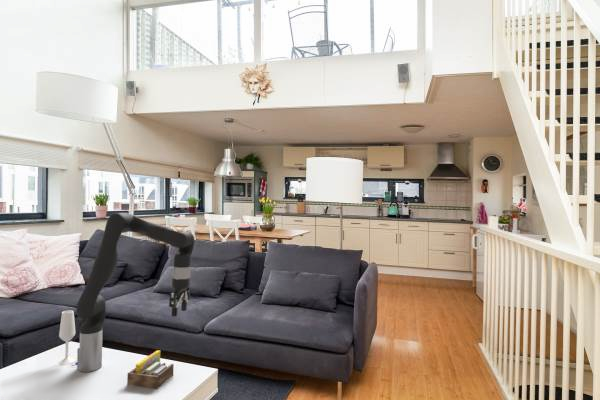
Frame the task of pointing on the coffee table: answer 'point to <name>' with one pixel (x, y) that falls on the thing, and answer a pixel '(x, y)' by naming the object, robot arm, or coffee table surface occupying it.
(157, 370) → the slate offcut
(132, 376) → the offcut rack
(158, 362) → the sage offcut
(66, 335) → the champagne flute
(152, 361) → the candy box
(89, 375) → the coffee table surface
